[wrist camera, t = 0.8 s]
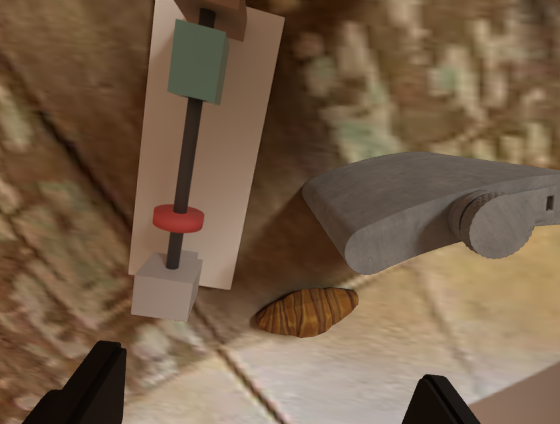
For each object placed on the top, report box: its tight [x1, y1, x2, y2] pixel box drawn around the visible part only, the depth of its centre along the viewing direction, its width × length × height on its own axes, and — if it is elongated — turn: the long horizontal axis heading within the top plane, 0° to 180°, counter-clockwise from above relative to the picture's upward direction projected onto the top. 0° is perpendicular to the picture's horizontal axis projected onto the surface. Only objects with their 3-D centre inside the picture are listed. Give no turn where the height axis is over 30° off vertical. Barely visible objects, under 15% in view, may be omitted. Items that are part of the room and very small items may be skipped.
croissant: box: [256, 287, 358, 338], centre depth 36 cm, size 14×7×5 cm, turn 103°
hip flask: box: [302, 152, 560, 275], centre depth 25 cm, size 16×4×20 cm, turn 104°
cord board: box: [128, 0, 285, 322], centre depth 28 cm, size 30×12×10 cm, turn 167°
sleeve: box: [167, 19, 230, 106], centre depth 24 cm, size 5×4×4 cm
